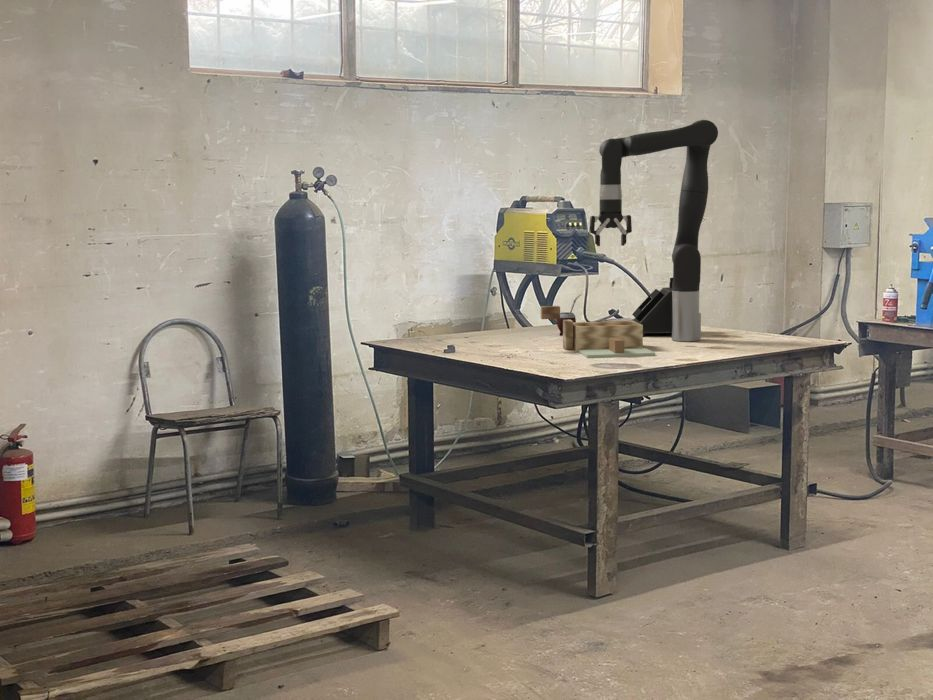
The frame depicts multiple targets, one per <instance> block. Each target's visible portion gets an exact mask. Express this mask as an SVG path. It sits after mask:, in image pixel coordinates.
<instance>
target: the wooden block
mask: <svg viewBox="0 0 933 700" xmlns="http://www.w3.org/2000/svg"><path fill="white" fill-rule="evenodd" d="M560 313H561V306H560V305H544V306H543V305H540V319H541V320H557V319H560Z"/></svg>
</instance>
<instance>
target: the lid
mask: <svg viewBox="0 0 933 700" xmlns="http://www.w3.org/2000/svg"><path fill="white" fill-rule="evenodd" d="M578 353H579V354H580V355H581V354H582V355H581V356H583V357H584V358H586V359H595V358H596V359H597V358H625V357H626V358H627V357H628V358H631V356H635V357H656V352H654V351H652V350H650V349H649V348H645V347H643V348H629V349H624V340H622V339H620V338H618V337H616V338H609V349H597V350H579V351H578Z"/></svg>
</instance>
